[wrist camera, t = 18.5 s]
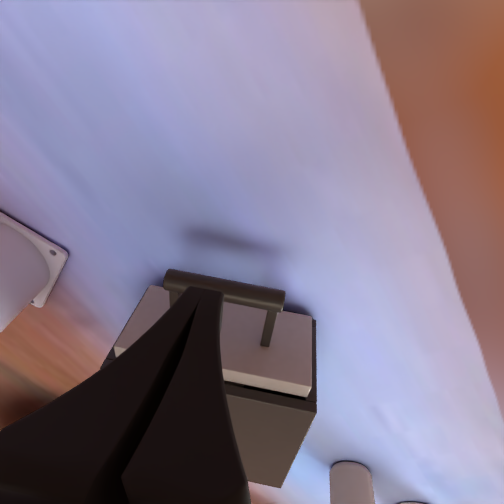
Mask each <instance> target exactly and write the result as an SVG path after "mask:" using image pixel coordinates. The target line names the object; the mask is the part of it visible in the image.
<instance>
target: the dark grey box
mask: <svg viewBox="0 0 504 504" xmlns="http://www.w3.org/2000/svg"><path fill="white" fill-rule="evenodd" d="M148 288H149V287H148ZM148 288H147V289H148ZM146 291H147V290H146ZM145 293H146V292H145ZM143 296H144V295H143ZM142 298H143V297H142ZM142 298H141V300H142ZM141 300H140V301H141ZM139 303H140V302H139ZM139 303H138V305H139ZM138 305H137V306H138ZM136 308H137V307H136ZM136 308H135V310H136ZM135 310H134V311H135ZM133 313H134V312H133ZM133 313H132V315H133ZM132 315H131V316H132ZM130 318H131V317H130ZM130 318H129V320H130ZM129 320H128V321H129ZM127 323H128V322H127ZM127 323H126V325H127ZM126 325H125V326H126ZM124 328H125V327H124ZM123 330H124V329H123ZM123 330H122V332H123ZM122 332H121V333H122ZM120 335H121V334H120ZM120 335H119V337H120ZM119 337H118V338H119ZM117 340H118V339H117ZM117 340H116V342H117ZM116 342H115V343H116ZM114 345H115V344H114ZM114 345H113V347H112V349H111V350H110V352H109V354H108V355H107V357H106V359H105V361H104V362H103V364H102V366H101V367H100V369H102V368H103V367H105V366H106V365H107V364H109V363H110V362H111V361H112V360H114V359H115V358H116V355H115V350H114ZM224 385H225V391H226V397H227V402H228V407H229V412H230V416H231V421H232V425H233V430H234V434H235V438H236V441H237V445H238V449H239V453H240V456H241V460H242V463H243V466H244V470H245V473H246V476H247V480H248V481H250V482H254V483H259V484H263V485H268V486H272V487H277V488H281V486H282V484H283V482H284V480H285V478H286V476H287V474H288V472H289V470H290V468H291V466H292V463H293V461H294V459H295V457H296V455H297V453H298V451H299V449H300V447H301V445H302V443H303V441H304V438H305V436H306V434H307V432H308V430H309V428H310V426H311V424H312V422H313V420H314V418H315V416H316V413H317V404H316V402H317V378H316V320H312V386H311V389H310V392H309V394H308V396H307V397H303V396H298V395H294V398H290V397H286V396H281V395H276V394H271V393H267V392H262V391H257V390H252V389H247V388H243V387H238V386H233V385H228V384H224Z"/></svg>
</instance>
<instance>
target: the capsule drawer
mask: <svg viewBox="0 0 504 504" xmlns="http://www.w3.org/2000/svg"><path fill="white" fill-rule="evenodd" d="M189 286H193V287H199V288H204V289H209V290H214V291H220V292H222V293H223V294H224V305H223V316H222V327H221V331H220V351H221V362H222V371H223V378H224V380H226V381H230V382H235V383H240V384H244V388H247V389H252V390H257V391H262V392H267V393H271V394H276V395H281V396H286V397H290V398H294V395H298V396H303V397H307V396H308V394H309V392H310V389H311V386H312V317H311V316H307V315H302V314H297V313H292V312H286V311H282V310H283V306H284V300H285V291H283V290H278V289H273V288H268V287H262V286H257V285H252V284H247V283H242V282H236V281H231V280H226V279H221V278H216V277H211V276H205V275H200V274H195V273H190V272H185V271H180V270H174V269H168V270H167V272H166V274H165V277H164V281H163V287H159V286H154V285H150V286H149V288H148V289H147V291H146V293H145V294H144V296H143V298H142V300H141V301H140V303H139V305H138V306H137V308H136V310H135V311H134V313H133V315H132V316H131V318H130V320H129V321H128V323H127V325H126V326H125V328H124V330H123V332H122V333H121V335H120V337H119V338H118V340H117V342H116V343H115V345H114V350H115V355H116V357H118V356H119V355H120V354H121V353H123V352H124V351H125V350H126V349H127V348H128V347H130V346H131V345H132V344H133V343H134V342H135V341H136V340H138V339H139V338H140V337H141V336H142V335H143V334H144V333H145V332H146V331H147V330H148V329H150V328H151V327H152V326H153V325H154V324H155V323H156V322H157V321H158V320H159V319H160V318H161V316H162V315H163V314H164V313H165V312H166V311H167V310H168V309H169V308H170V307H171V306H172V305H173V304H174V303H175V301H176V300H177V299H178V298H179V297H180V296H181V294H182V293H183V292H184V291H185V289H186V288H187V287H189Z"/></svg>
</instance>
